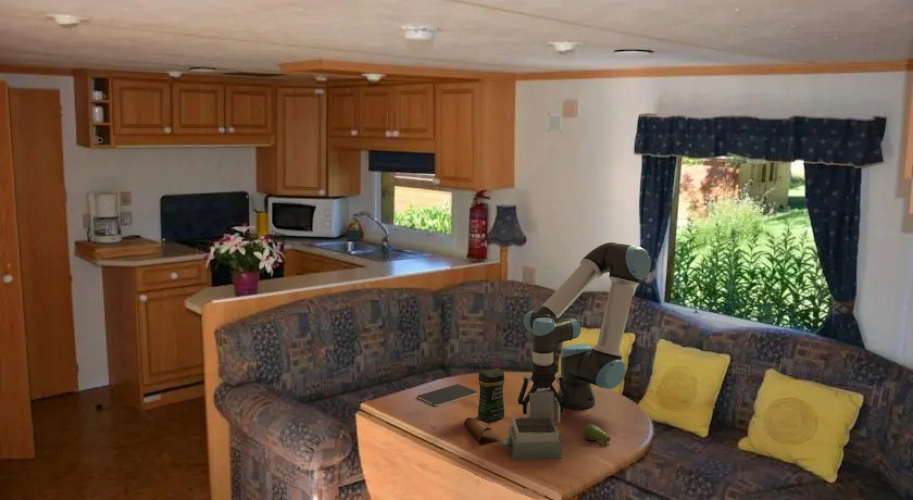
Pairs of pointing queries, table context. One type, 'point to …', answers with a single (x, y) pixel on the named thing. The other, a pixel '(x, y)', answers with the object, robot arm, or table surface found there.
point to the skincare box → (543, 403)
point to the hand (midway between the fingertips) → (542, 422)
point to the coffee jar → (491, 395)
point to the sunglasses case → (481, 431)
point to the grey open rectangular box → (533, 439)
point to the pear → (595, 434)
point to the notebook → (447, 395)
